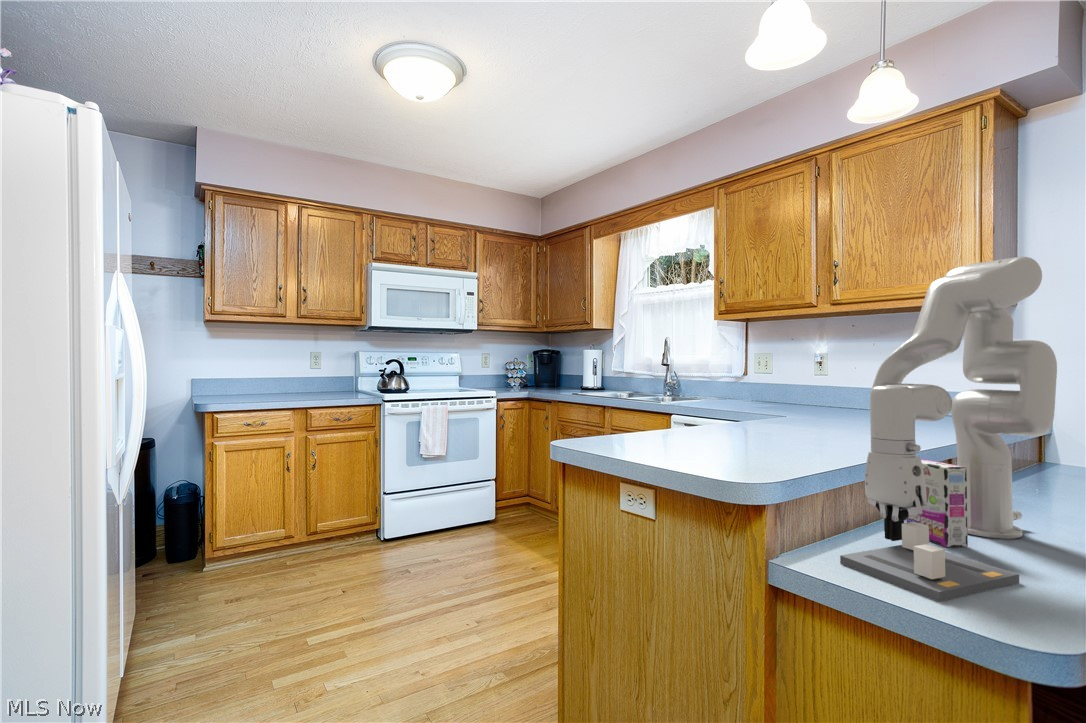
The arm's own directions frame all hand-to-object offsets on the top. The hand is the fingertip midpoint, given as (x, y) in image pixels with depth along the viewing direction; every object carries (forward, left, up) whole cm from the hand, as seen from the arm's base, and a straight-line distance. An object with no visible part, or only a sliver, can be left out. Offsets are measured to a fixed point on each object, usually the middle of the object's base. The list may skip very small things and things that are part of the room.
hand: (894, 539), depth 108 cm
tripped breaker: (0, +4, 0) cm, 4 cm away
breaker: (+11, +14, 0) cm, 18 cm away
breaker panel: (+5, +10, -3) cm, 12 cm away
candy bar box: (-16, -2, -3) cm, 16 cm away
